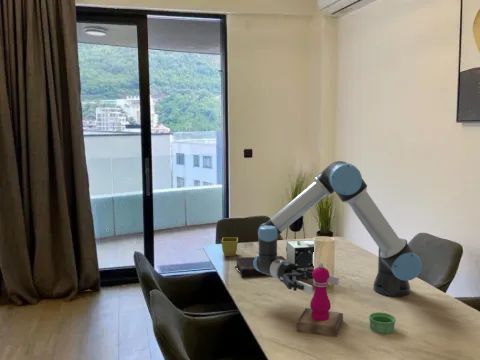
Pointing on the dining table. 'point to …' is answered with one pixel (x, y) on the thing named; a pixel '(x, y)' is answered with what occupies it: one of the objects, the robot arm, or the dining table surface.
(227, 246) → the flower pot
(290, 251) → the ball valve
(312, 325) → the plinth
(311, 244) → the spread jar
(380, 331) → the ramekin
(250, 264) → the diary
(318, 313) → the pepper mill
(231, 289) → the dining table surface
